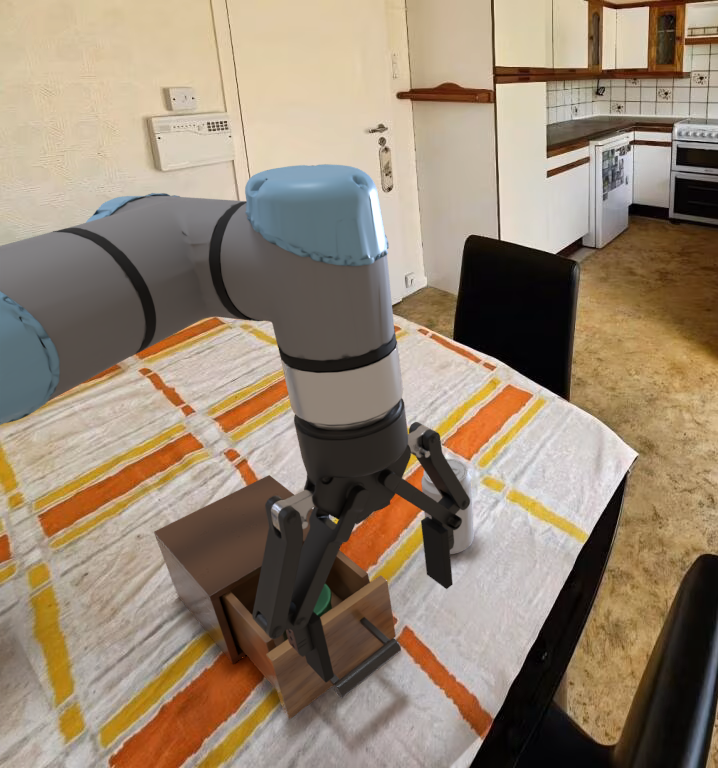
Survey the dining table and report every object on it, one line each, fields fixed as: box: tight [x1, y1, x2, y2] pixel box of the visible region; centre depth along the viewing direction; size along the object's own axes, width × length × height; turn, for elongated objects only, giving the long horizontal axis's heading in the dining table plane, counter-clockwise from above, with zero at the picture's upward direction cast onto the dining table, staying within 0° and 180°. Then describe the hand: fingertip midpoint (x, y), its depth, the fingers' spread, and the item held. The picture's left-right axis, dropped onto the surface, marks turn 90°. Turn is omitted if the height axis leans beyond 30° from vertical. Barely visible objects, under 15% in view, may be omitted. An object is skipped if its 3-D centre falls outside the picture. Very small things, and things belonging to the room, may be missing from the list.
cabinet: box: [153, 474, 313, 665], centre depth 75 cm, size 15×15×11 cm
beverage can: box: [420, 458, 475, 555], centre depth 83 cm, size 6×6×12 cm
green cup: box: [282, 584, 332, 642], centre depth 68 cm, size 8×6×6 cm
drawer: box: [219, 549, 402, 720], centre depth 67 cm, size 19×13×9 cm
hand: (384, 621), depth 53 cm, fingers open, 12 cm apart
